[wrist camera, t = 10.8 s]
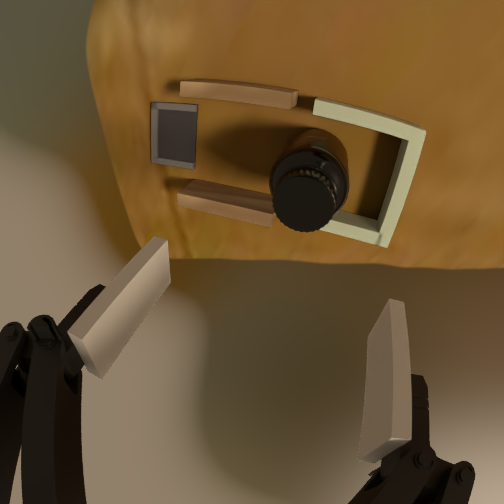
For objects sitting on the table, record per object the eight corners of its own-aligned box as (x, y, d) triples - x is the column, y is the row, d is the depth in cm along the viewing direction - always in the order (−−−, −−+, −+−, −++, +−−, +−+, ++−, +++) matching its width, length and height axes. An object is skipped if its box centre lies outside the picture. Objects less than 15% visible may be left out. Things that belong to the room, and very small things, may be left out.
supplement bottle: (275, 168, 33) (242, 215, 24) (303, 116, 29) (281, 140, 19) (328, 198, 33) (318, 258, 24) (360, 149, 29) (367, 191, 20)
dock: (317, 97, 27) (315, 99, 25) (419, 125, 26) (426, 131, 23) (296, 210, 35) (291, 222, 33) (384, 234, 33) (387, 247, 31)
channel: (199, 78, 29) (180, 81, 26) (298, 90, 27) (292, 92, 24) (194, 190, 38) (177, 205, 34) (279, 209, 36) (270, 227, 32)
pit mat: (154, 101, 32) (151, 102, 32) (198, 104, 31) (195, 105, 31) (154, 161, 37) (151, 162, 36) (194, 167, 36) (192, 169, 35)
